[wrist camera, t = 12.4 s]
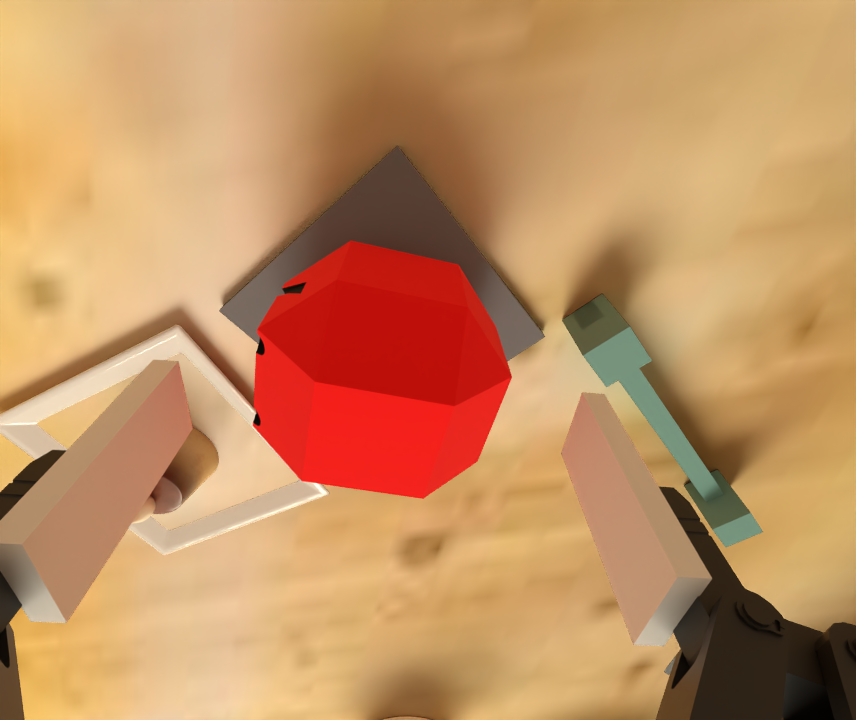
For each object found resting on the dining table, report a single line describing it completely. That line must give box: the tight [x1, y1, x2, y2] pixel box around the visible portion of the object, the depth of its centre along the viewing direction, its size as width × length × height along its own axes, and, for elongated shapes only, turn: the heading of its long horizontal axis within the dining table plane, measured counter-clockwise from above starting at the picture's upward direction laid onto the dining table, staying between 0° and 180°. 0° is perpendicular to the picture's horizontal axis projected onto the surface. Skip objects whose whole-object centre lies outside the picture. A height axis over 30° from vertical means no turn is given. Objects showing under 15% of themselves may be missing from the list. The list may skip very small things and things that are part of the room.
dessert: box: [0, 325, 329, 555], centre depth 23 cm, size 12×12×5 cm
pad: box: [219, 146, 545, 361], centre depth 20 cm, size 10×10×1 cm
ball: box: [253, 241, 512, 499], centre depth 17 cm, size 8×8×8 cm
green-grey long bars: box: [562, 294, 763, 547], centre depth 20 cm, size 16×16×3 cm
